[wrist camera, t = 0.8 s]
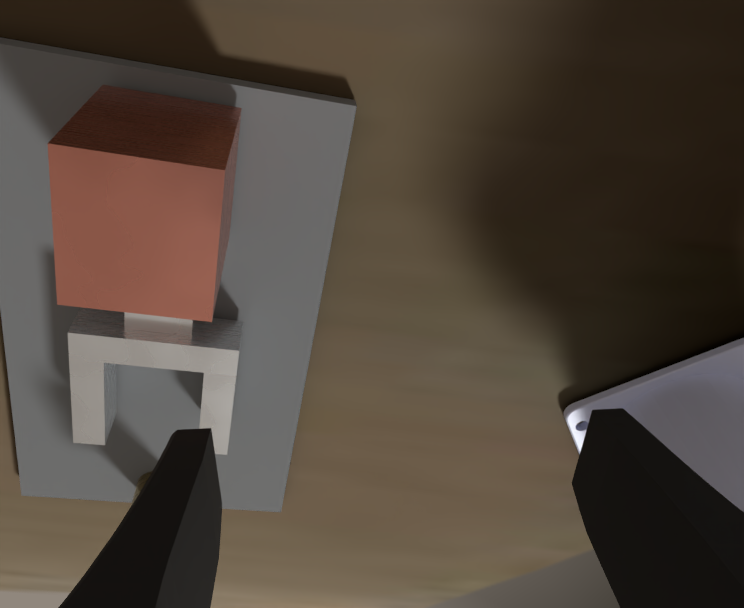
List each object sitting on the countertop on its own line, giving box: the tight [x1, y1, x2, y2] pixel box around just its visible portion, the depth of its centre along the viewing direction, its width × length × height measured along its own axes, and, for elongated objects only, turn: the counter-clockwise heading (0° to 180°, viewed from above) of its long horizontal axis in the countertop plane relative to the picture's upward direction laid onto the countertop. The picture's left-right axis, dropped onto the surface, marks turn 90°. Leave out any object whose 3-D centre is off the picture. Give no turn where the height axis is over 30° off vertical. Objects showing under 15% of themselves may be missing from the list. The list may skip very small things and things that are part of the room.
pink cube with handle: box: [48, 85, 243, 455], centre depth 19 cm, size 12×5×4 cm, turn 168°
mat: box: [0, 37, 357, 512], centre depth 22 cm, size 17×10×1 cm, turn 168°
